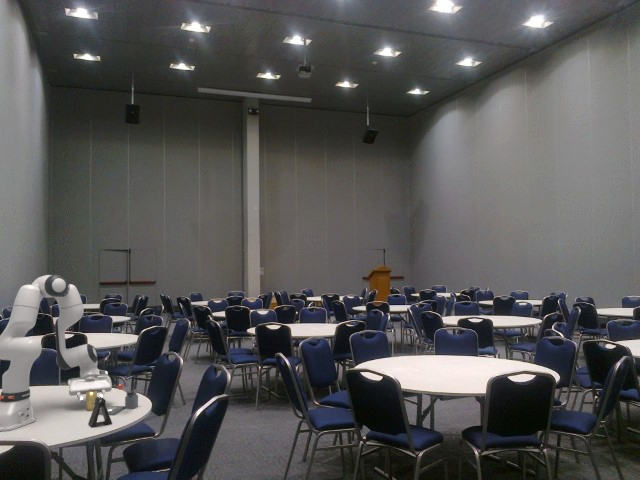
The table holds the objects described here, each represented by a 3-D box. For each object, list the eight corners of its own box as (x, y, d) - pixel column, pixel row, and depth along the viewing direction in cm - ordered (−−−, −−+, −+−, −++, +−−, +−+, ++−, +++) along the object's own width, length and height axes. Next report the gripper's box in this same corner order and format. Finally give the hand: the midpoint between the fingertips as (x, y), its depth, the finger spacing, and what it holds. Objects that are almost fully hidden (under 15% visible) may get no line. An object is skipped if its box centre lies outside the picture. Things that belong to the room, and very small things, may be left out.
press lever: (129, 396, 283) (130, 390, 285) (134, 396, 283) (135, 390, 284) (116, 389, 268) (117, 383, 270) (121, 389, 268) (122, 383, 269)
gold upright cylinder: (93, 411, 276) (93, 389, 277) (84, 411, 277) (84, 389, 277) (98, 408, 281) (98, 387, 282) (88, 408, 282) (89, 387, 282)
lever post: (134, 408, 280) (134, 391, 281) (125, 408, 281) (125, 390, 281) (137, 406, 285) (137, 388, 285) (128, 406, 285) (128, 388, 285)
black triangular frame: (108, 421, 259) (108, 395, 259) (112, 424, 254) (112, 397, 255) (88, 424, 254) (88, 397, 254) (91, 427, 249) (91, 400, 249)
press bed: (114, 415, 269) (114, 412, 269) (94, 414, 270) (94, 412, 270) (125, 408, 281) (125, 405, 281) (105, 408, 282) (105, 405, 282)
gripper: (67, 375, 281) (69, 399, 272) (110, 370, 291) (113, 393, 282) (67, 382, 285) (68, 406, 276) (109, 378, 294) (112, 400, 285)
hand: (91, 399), depth 279 cm, fingers open, 8 cm apart
